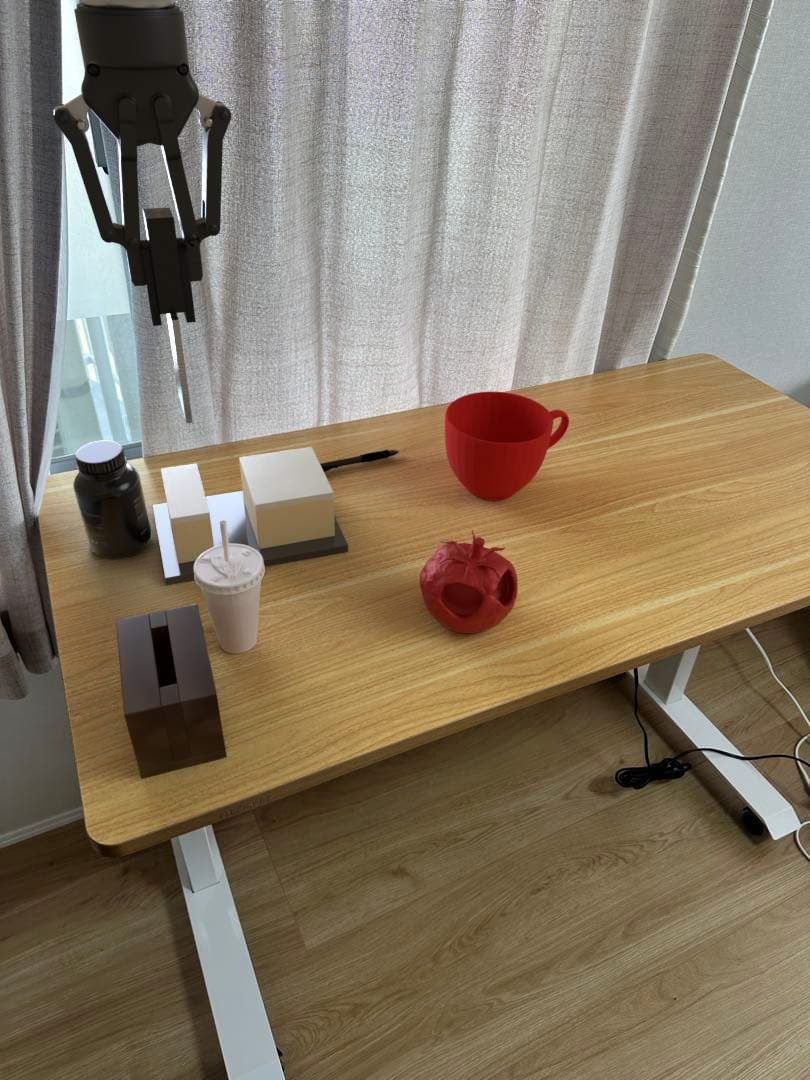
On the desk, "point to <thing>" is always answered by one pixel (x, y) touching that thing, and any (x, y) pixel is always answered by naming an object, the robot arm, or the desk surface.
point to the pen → (359, 459)
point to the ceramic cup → (498, 441)
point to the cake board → (237, 538)
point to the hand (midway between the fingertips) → (172, 317)
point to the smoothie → (231, 591)
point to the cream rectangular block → (187, 511)
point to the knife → (169, 289)
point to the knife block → (169, 691)
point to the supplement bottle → (111, 501)
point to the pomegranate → (468, 586)
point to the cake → (287, 497)
